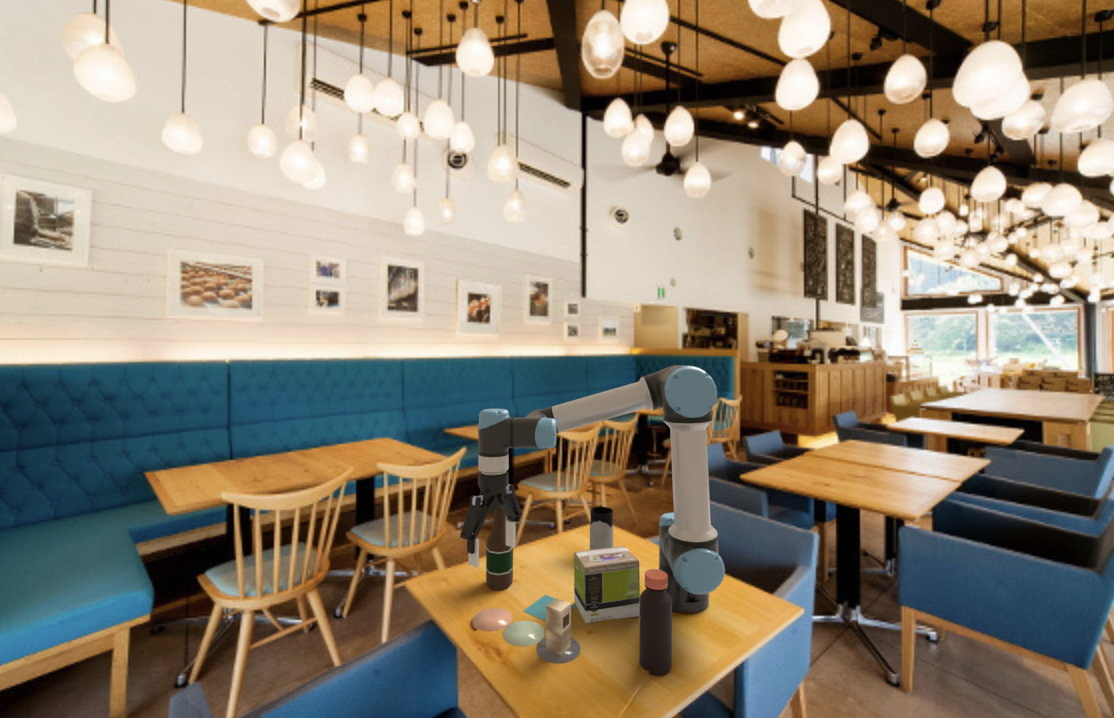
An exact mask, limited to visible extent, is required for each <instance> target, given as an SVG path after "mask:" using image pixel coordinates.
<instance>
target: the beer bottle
mask: <svg viewBox="0 0 1114 718" xmlns="http://www.w3.org/2000/svg"><path fill="white" fill-rule="evenodd" d="M506 520H507V516H506V515H505V513H504V512H503V511H502V509H501V508H500V507H499V508H495V509H494V510H493V523H492V524H493V525H492V529H491V531H490V532H489V534H488V537H487V538H486V543H485V544H486V545H485V546H486V547H485V548H486V549H485V550H486V551H485V557H486V558H485V559H486V560H485V564H486V565H485V580H486V582H485V583H486V586H488V588H489V589H490V590H493V591H494V590H495V591H502V590H506V589H509V588H510V586H511V585H512V584H513V582H514V581H513V579H514V548H513V547H510V546H507V545H506Z"/></svg>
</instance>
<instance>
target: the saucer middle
mask: <svg viewBox="0 0 1114 718" xmlns="http://www.w3.org/2000/svg"><path fill="white" fill-rule="evenodd" d="M545 636H546V630H545V628H544V627H543V626H542V625H541V624H540V623H538V622H535V621H530V620H519V621H518V620H517V621H515V622H511V623H510V625H508V626H507V627H505V628H503V631H502V637H503V639H504V641H505V642H506V643H508V644H510V645H512V646H516V647H530V646H533V645H537V644H538V643H539V642H540V641H541V640H542V639H543V638H545Z"/></svg>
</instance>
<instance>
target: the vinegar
mask: <svg viewBox="0 0 1114 718" xmlns="http://www.w3.org/2000/svg"><path fill="white" fill-rule="evenodd" d="M644 586H645V589H643V591H641V592H640V616H639V657H638V658H639V665H640V667H641V668H643V670H645V671H646V672H648V675H649V674H650V675H652V676H657V677H659V676H664V675H667V674H669V673H670V671H671V669H672V659H673V658H672V649H673V648H672V645H673V644H672V643H673V642H672V640H673V610H672V598H671V596H670V595H669V594H668V592H667V591H666V590H667V588H668V587H667V586H668V575H667V574H666V573H665V572H664V571H661V570H658V569H655V568H653V569H652V568H651V569H648V570H646V571H644Z"/></svg>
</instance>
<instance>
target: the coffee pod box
mask: <svg viewBox="0 0 1114 718" xmlns="http://www.w3.org/2000/svg"><path fill="white" fill-rule="evenodd" d="M573 572H574V573H573V580H574V581H573V585H574V586H573V590H574V594H573V595H574V598H573V599H574V604H575V607H577V610H578V612H579V613H580V614H579V615H581V617H582V619H583V621H584V623H586V624H589V623H595V622H601V621H609V620H616V619H624V618H627V619H628V618H629V619H630V618H635V617H640V595H641V589H640V588H641V586H640V582H641V581H640V576H641V575H640V560H639V559H638V558H637V557H636V556H635V555H634V554H633V553H632V552H631V551H630V550H629V549H628V548H627V547H626V546H625V545H621V546H613V547H612V548H604V549H594V550H590V549H589V550H588V549H587V550H581V551H574V553H573Z"/></svg>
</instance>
